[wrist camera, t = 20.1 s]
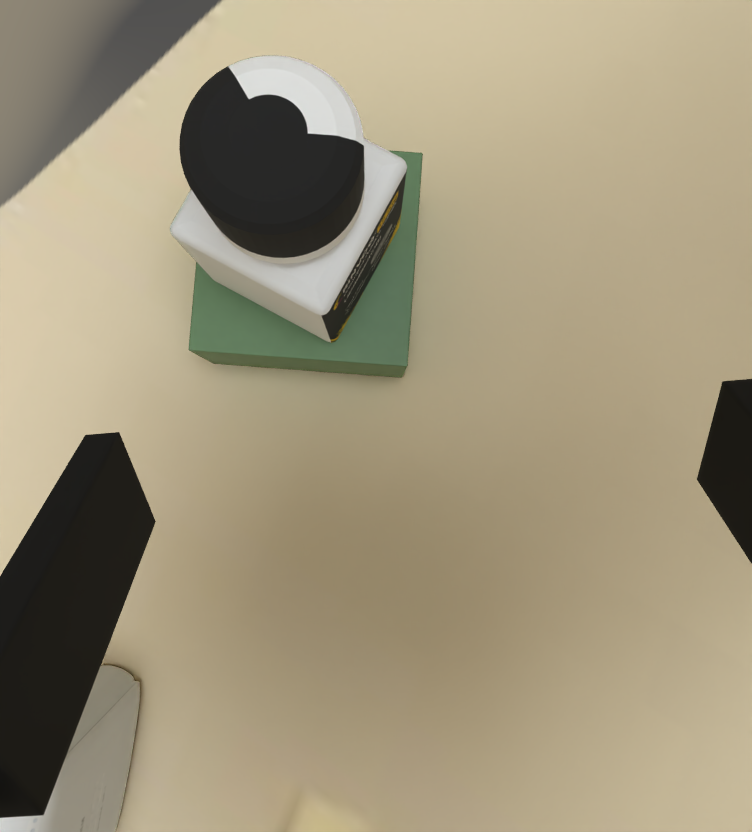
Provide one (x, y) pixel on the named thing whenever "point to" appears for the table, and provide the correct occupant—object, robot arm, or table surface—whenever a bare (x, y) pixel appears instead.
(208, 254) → the medicine bottle
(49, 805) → the white rounded upright block
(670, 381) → the table surface
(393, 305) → the green block
